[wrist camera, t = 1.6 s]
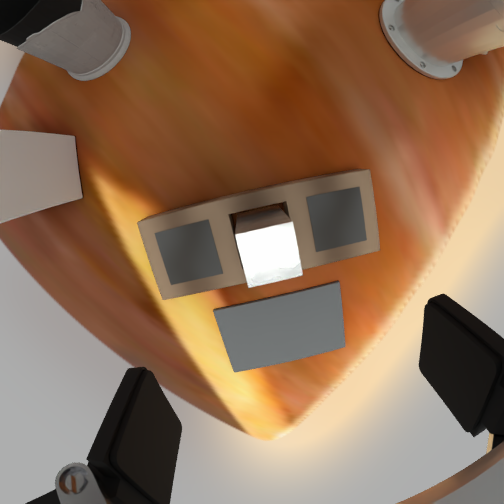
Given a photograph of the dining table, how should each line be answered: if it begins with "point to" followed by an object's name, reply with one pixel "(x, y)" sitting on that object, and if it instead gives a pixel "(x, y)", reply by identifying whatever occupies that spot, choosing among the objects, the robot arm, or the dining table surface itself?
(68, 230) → the dining table surface
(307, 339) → the mat
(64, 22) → the glass holder
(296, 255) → the grey rectangular block
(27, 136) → the milk carton
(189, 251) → the rail
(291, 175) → the dining table surface
